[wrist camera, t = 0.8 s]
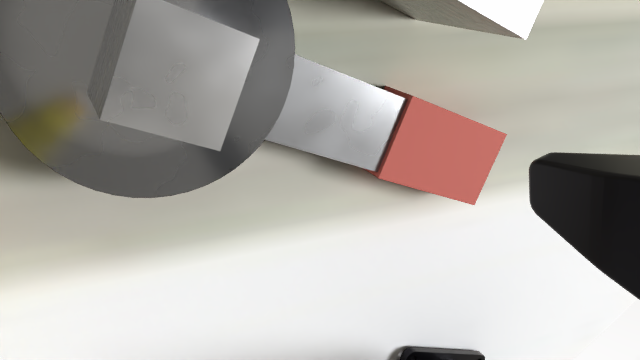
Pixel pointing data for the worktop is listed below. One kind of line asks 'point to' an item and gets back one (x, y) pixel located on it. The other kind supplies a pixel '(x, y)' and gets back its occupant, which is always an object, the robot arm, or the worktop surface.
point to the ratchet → (209, 99)
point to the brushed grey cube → (475, 14)
